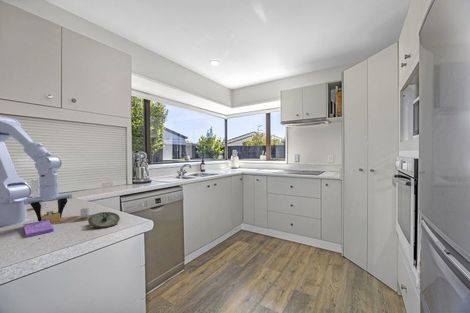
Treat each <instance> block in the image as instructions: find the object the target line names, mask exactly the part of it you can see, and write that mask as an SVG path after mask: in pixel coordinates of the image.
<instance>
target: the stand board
mask: <svg viewBox="0 0 470 313" xmlns="http://www.w3.org/2000/svg"><path fill="white" fill-rule="evenodd" d="M79 211H80V215H75V216H74V215H73V216H65V217H62V216H61V218H60V221H58V222H53V223H51V225H52V226H53V225H60V224H70V223H80V222H88V219H89V217H91V216H92V215H94V214H95V213H94V214H93V213H92V214H90V207H83V208H80V210H79ZM53 212H54V211H53V210H50V211H49V210H48V211H46V213H45V214H46V215H53Z"/></svg>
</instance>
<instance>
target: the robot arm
mask: <svg viewBox="0 0 470 313" xmlns="http://www.w3.org/2000/svg"><path fill="white" fill-rule="evenodd" d="M11 137H12V138H14V139H15V141H17V142H18V143H19V144H20V145H22V146H23V152H24V153H25V154H26V155H27V156H28V157H29V158H30V159H31V160H33V162H35V163H34V167H35V169H36V170H37V174H38V176H39V178H38V179H39V182H40V197H36V198H32V197H31V196H32V194H31V193H32V189H31V185H29V184H28V182H27V180H26V179H25V178H22V177H20V176H19V175H18V173H17V171H16V167H15V165H14V162H13V161H12V157H11V155H10V152H9V150H8V147H7V145H6V143H5V142H6V140H8V139H10V138H11ZM62 163H63V162H62V160H61V158H60V157H59V156H58V155H54V154H52V152H50V151H48V150H47V148H45V147H44V145H43V143H40V142H38V141H37V142H36V141H35V142H34V140H33V139H32V138H31V137H30V136H29V134H28V133H26V131H25V130H24V129H23V128H22V124H21V122H19V120H17V119H16V118H14V117H7V116H0V227H3V226H12V225H13V226H14V225H22V224H25V222H28V221H29V220H32V218H28V212H27V211H28V208H27V206H28V205H30V207H31V209H32V208H33V209H32V210H34V213H35V214H36V218H37V222H40V221H41V214H42V212H41V210H42V209H41V205H40V202H47V203H48V202H54V201H57V209H58V210H57V212H58V213H60V218H62V215H63V212H64V209H65V207H66V205H67V203H68V200H70V199H73V194H72V193H63V194H59V169H60V168H61V166H62Z"/></svg>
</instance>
